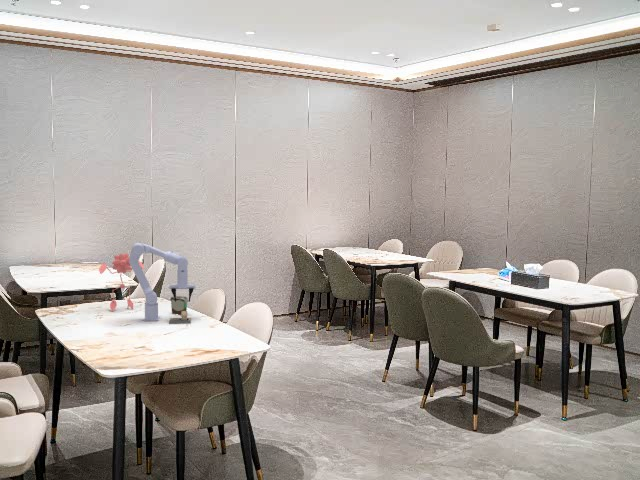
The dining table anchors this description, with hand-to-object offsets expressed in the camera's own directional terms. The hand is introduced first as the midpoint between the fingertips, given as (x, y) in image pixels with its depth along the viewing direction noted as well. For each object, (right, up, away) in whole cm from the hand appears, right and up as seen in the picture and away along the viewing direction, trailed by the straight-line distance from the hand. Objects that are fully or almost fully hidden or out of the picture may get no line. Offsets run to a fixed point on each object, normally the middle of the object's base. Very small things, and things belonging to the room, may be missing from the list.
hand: (182, 301), depth 355 cm
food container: (-3, -9, +13) cm, 16 cm away
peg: (+3, -11, -9) cm, 14 cm away
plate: (+1, -11, -9) cm, 14 cm away
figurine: (-40, -8, +18) cm, 44 cm away
